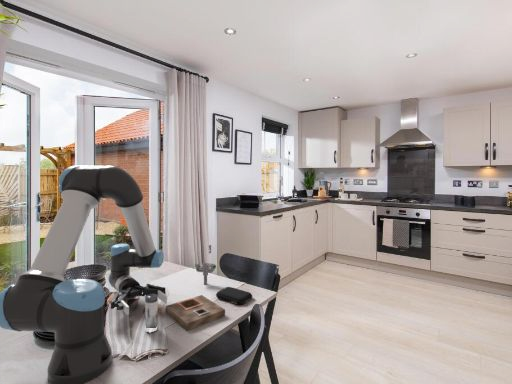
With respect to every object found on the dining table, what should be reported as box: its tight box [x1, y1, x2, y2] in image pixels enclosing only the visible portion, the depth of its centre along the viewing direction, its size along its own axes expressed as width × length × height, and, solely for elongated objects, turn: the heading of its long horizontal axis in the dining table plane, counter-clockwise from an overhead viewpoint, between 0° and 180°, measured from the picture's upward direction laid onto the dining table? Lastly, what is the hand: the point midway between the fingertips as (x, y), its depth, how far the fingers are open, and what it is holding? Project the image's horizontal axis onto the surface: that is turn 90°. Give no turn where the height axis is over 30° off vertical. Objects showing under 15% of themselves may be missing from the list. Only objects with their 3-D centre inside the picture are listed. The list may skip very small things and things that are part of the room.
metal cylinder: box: [144, 294, 159, 328], centre depth 98 cm, size 4×4×12 cm
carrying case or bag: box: [215, 286, 253, 306], centre depth 124 cm, size 11×3×15 cm
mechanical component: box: [194, 262, 217, 285], centre depth 140 cm, size 3×10×10 cm, turn 78°
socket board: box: [165, 294, 226, 331], centre depth 110 cm, size 16×17×3 cm
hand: (147, 304), depth 102 cm, fingers open, 13 cm apart
